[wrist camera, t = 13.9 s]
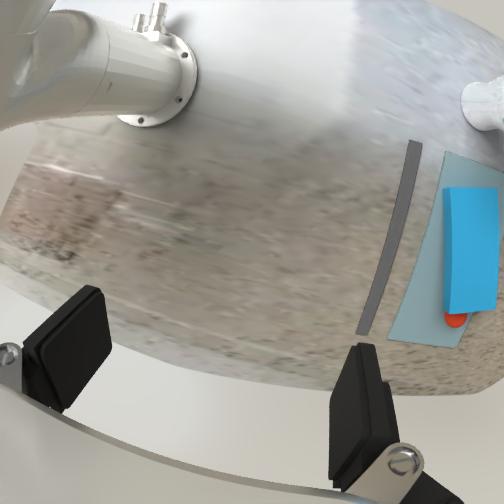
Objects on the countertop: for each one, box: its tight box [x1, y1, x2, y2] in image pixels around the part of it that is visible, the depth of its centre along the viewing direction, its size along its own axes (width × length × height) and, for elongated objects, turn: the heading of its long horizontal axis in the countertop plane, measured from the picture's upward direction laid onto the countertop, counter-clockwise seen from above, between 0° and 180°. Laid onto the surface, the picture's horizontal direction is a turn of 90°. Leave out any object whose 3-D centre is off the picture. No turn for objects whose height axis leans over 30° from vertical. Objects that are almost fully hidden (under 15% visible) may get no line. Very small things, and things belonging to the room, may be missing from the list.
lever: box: [442, 187, 499, 328], centre depth 33 cm, size 7×7×18 cm
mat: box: [387, 151, 504, 348], centre depth 35 cm, size 26×12×1 cm, turn 172°
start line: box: [356, 140, 422, 335], centre depth 36 cm, size 26×2×1 cm, turn 172°
